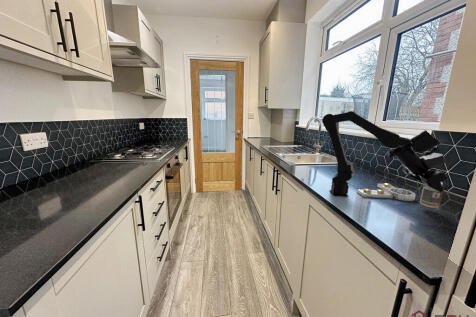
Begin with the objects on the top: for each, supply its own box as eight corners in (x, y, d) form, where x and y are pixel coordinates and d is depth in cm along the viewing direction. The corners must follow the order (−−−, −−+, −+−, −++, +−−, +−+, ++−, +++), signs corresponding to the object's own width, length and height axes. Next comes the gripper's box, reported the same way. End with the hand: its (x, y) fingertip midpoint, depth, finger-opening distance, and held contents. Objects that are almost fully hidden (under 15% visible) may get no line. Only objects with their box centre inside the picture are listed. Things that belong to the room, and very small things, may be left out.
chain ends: (365, 198, 88) (366, 193, 88) (347, 185, 106) (348, 180, 105) (420, 201, 86) (421, 196, 85) (392, 187, 103) (393, 182, 103)
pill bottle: (442, 209, 74) (449, 184, 72) (425, 207, 75) (431, 183, 73) (431, 202, 80) (437, 180, 78) (415, 201, 81) (420, 178, 79)
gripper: (448, 150, 65) (481, 184, 64) (417, 142, 82) (443, 170, 81) (414, 170, 69) (445, 203, 68) (391, 159, 86) (416, 185, 85)
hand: (437, 188), depth 76 cm, fingers closed on pill bottle, 5 cm apart
